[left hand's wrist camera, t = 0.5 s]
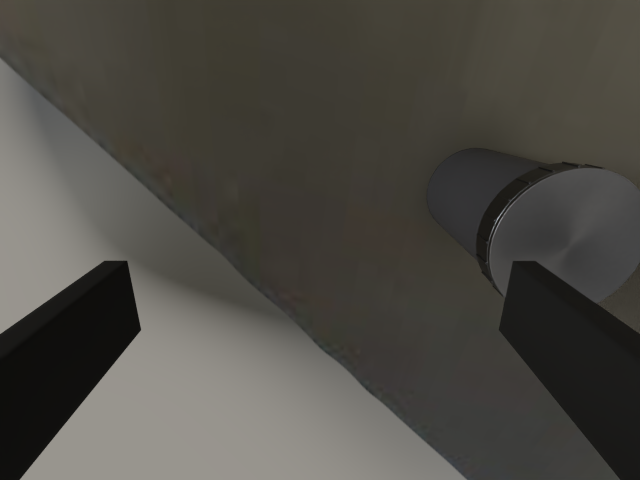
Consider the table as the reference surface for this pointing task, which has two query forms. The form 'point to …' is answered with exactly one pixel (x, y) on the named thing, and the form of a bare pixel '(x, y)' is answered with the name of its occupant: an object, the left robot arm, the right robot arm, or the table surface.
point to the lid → (564, 228)
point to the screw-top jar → (471, 189)
